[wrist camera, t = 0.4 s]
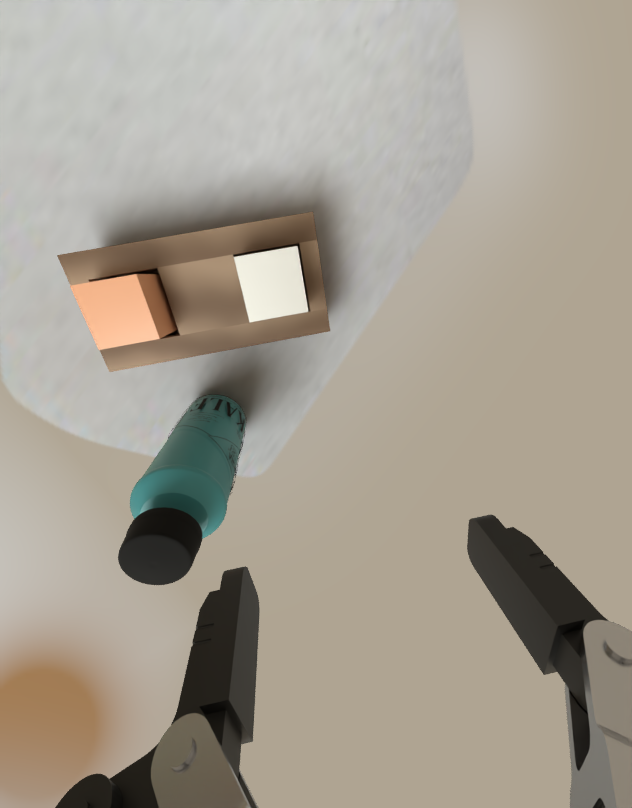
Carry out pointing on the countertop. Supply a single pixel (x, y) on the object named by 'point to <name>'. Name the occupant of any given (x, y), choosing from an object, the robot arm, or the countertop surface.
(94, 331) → the terracotta plug
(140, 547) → the beverage bottle
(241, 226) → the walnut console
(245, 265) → the white plug
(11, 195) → the countertop surface
